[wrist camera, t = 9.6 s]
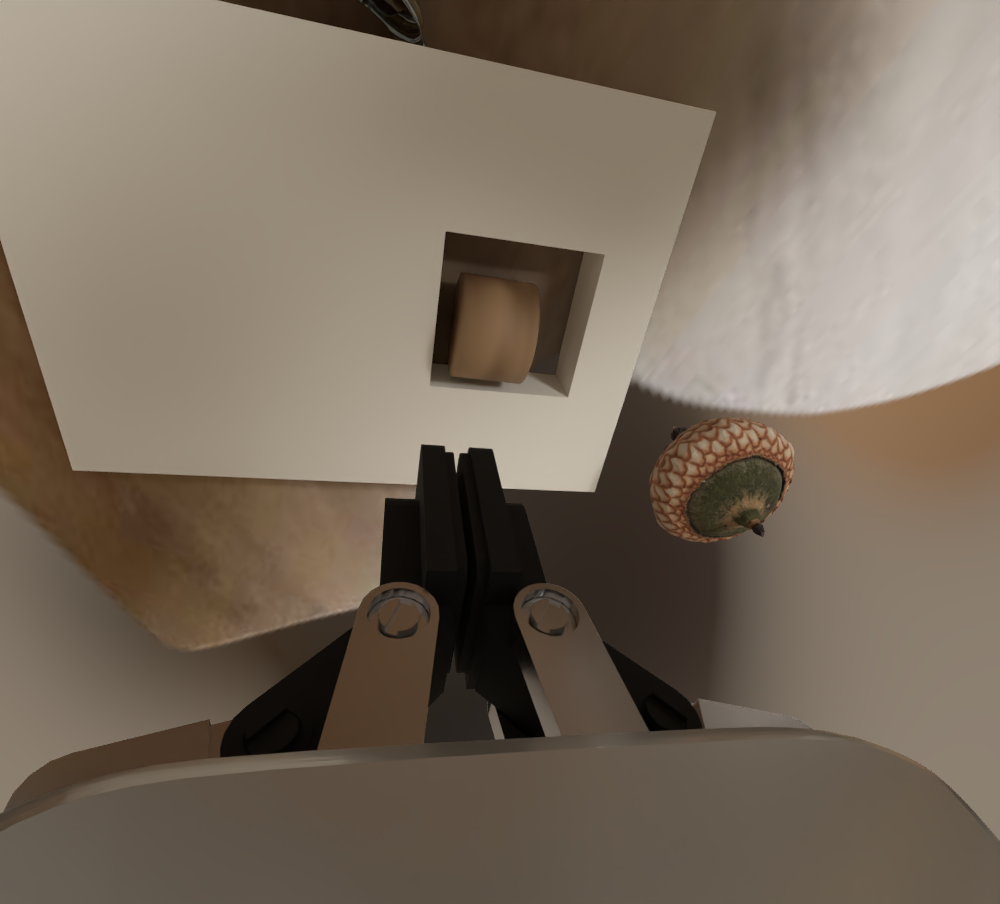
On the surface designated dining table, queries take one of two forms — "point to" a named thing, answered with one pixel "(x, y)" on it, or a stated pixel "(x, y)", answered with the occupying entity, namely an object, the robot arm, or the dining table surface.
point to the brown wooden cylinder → (493, 329)
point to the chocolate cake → (399, 18)
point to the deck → (314, 239)
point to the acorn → (720, 479)
